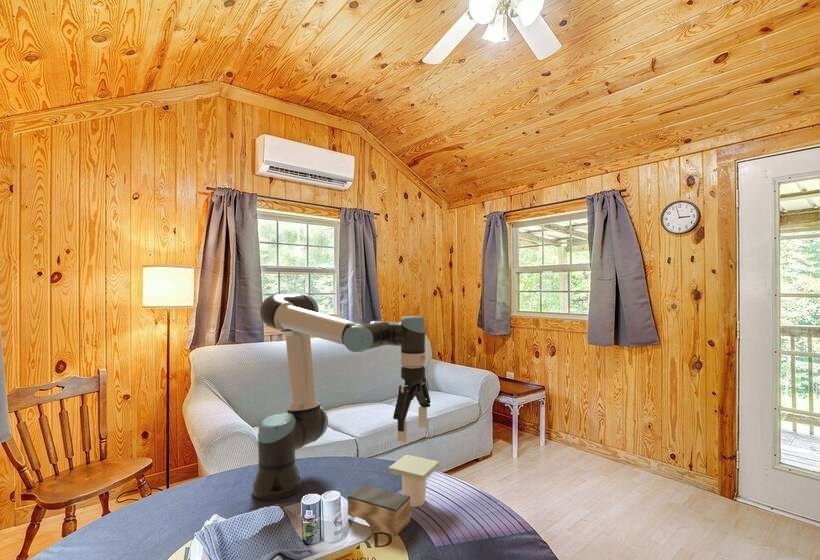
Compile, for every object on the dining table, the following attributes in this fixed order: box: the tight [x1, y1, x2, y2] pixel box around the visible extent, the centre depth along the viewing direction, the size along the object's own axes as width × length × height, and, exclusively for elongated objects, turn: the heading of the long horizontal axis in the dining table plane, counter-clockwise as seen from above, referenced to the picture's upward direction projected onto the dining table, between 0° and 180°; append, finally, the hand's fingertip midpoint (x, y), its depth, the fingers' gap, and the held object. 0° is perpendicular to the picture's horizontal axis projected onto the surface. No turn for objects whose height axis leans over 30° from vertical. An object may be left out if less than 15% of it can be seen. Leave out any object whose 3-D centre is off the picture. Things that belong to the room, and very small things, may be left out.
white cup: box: [401, 476, 427, 508], centre depth 129 cm, size 8×8×10 cm
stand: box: [347, 483, 411, 537], centre depth 118 cm, size 16×8×7 cm, turn 62°
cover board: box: [388, 454, 440, 481], centre depth 129 cm, size 12×11×2 cm
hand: (413, 434), depth 129 cm, fingers open, 13 cm apart
